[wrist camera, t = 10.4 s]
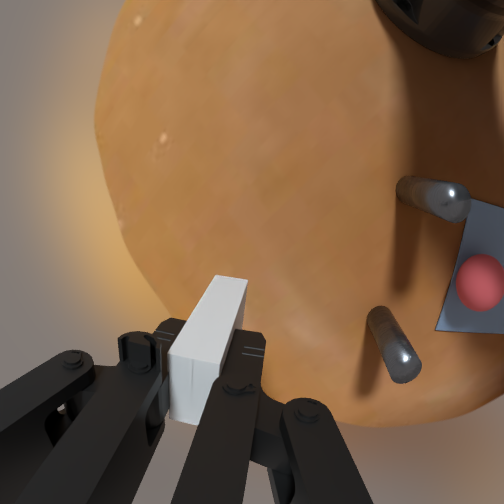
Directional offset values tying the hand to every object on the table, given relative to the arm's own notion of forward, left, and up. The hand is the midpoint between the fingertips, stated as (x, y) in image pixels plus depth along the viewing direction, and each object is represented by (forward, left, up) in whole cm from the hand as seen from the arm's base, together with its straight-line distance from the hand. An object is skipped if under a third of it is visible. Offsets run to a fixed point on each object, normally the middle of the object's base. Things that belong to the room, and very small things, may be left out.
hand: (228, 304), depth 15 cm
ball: (0, +22, -12) cm, 25 cm away
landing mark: (0, +27, -14) cm, 31 cm away
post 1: (+6, +13, -14) cm, 20 cm away
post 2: (-6, +13, -14) cm, 20 cm away
